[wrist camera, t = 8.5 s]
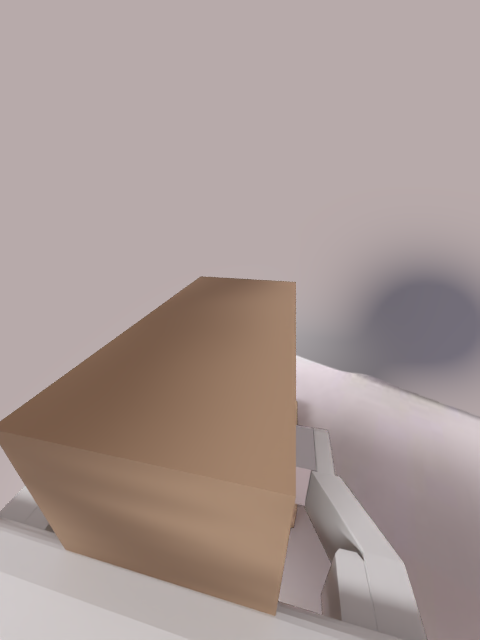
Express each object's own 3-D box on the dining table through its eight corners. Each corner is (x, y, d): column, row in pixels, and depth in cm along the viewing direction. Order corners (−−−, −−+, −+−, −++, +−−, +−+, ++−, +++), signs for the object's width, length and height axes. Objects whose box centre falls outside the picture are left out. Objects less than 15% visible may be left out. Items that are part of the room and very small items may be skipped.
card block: (276, 472, 15) (296, 282, 10) (259, 721, 8) (301, 498, 2) (212, 459, 15) (199, 276, 10) (141, 674, 8) (-13, 428, 3)
